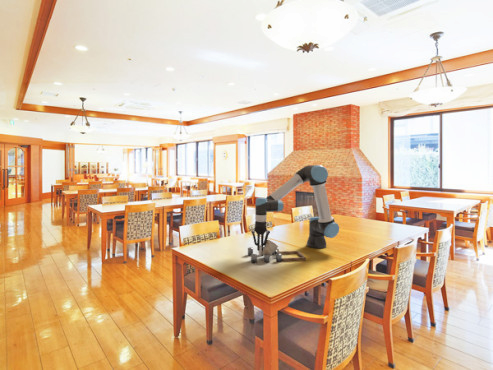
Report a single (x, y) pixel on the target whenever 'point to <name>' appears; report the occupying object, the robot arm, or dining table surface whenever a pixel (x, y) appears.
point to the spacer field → (266, 256)
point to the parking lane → (301, 258)
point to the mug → (270, 248)
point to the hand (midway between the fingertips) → (260, 255)
